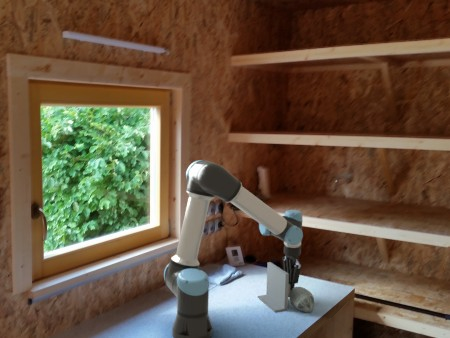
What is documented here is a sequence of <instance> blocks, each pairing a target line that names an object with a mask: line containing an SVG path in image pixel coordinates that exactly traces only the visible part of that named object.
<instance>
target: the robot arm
mask: <svg viewBox="0 0 450 338" xmlns="http://www.w3.org/2000/svg"><path fill="white" fill-rule="evenodd" d="M185 177H186V181H187V185H186V192H185V193H187V195H188V198H187V203H186V207H185V212H184V218H183V222H182V225H181V230H180V235H179V240H178V244H177V248H176V251H175V252H176V253H175V254H174V255H173V256H171V257H170V261H169V263H168V264H167V265H166V266H165V268H164V272H163V279H164V283H165V285H166V287H167V288H168V289H169V290H170V291H171V292H172V293H173V295H174V296H175V297H176V303H177V304H176V316H175V318H174V319H175V320H174V322H173V326H172V327H171V328H172V332H171V333H172V336H173V338H211V337H212V336H213V325H212V320H211V318H210V315H209V298H210V297H209V296H210V295H209V293H210V292H209V291H210V290H209V289H210V283H209V282H210V281H209V275H208V274H207V272H205V271H203V270H202V269H199V268H200V262H199V260H198V255H199V251H200V247H201V242H202V237H203V233H204V229H205V226H206V220H207V216H208V212H209V208H210V202H211V201H212V200H213V199H215V197H217V198H218V199H220V200H222V201H223V202H225V204H226V203H231V205H233V206H235V207H236V208H238V209H239V210H240V211H242V212H243V213H245V214H246V215H247V216H249V217H250V218H252V220H254V221H255V222H257V223H258V229H259V232H260V234H261V235H262V236H273V237H274V238H276V239H279V240H281V241H282V242H283V244H284V245H283V254H284V255H285V256H282V257H281V258H282V259H281V260H282V263H283V265H282V266H283V270H284V271H285V272H287V273H288V274H289V282H288V298H290V292H291V290H292V289H293V288H294V287H296V286H295V285H296V284H298V283H299V279H300V273H301V269H302V268H303V265H302V264H301V263H300V258H299V256H301V255H302V241H303V237H304V234H303V212H302V211H300V210H297V209H289V210H285V213H284V215H281V214H280V213H278V212H277V211H275V210H274V208H272V207H270V206H269V205H268V204H266V203H265V202H263V200H261V199H260V198H259V197H257V196H255V195H254V194H253V193H252V192H250V191H249V190H248V189H247V188H245V187H243V184H242V182H241V181H240V180H239V179H238V178H237V177H236V176H234V175H233V174H232V173H231V172H230V171H228V169H226V167H224V166H222V165H221V164H218V163H215V162H213V161H210V160H206V159H199V160H194V161H193V162H192V163H191V164H190V165H189V166H188V168H187V169H186V172H185Z"/></svg>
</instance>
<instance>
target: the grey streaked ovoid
mask: <svg viewBox="0 0 450 338" xmlns="http://www.w3.org/2000/svg"><path fill="white" fill-rule="evenodd" d="M289 301H290V303H291V305H292V306H293V307H294V308H295V309H297V310H298V311H301V312H303V313H311V312H312V311H313V310H314V309H315V308H314V307H315V298H314V295H313V293H311V291H309V290H308V289H306V288H304V287H302V286H295V287H294V288H293V289H292V290H291V292H290V297H289Z"/></svg>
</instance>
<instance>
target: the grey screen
mask: <svg viewBox="0 0 450 338" xmlns="http://www.w3.org/2000/svg"><path fill="white" fill-rule="evenodd" d="M266 268H267V269H266V271H267V272H266V294H262V295H257V299H258V298H259V299H258V300H260V302H262V303H263V304H264V305H266V306H267V307H268V308H269V309H271V311H272V312H274V313H279V311H280V312H285V311H288V306H289V303H288V302H289V297H288V282H289V274H288V273H287V272H285V271H284V269H282V268H281V267H279V266H277V265H276V264H274V263H273V262H271V261H269V262H267V267H266ZM284 310H285V311H284Z"/></svg>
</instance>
